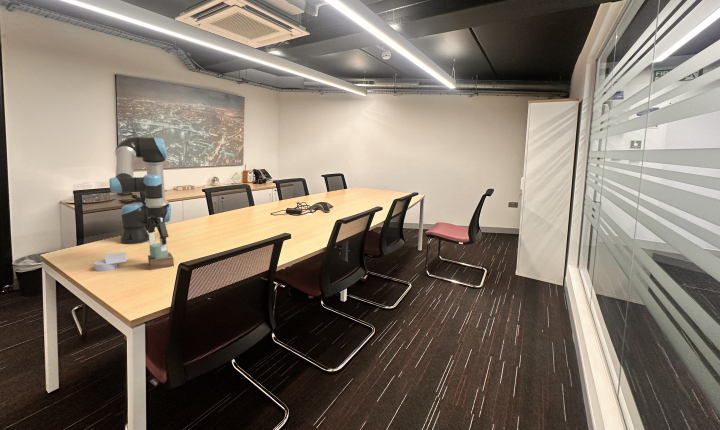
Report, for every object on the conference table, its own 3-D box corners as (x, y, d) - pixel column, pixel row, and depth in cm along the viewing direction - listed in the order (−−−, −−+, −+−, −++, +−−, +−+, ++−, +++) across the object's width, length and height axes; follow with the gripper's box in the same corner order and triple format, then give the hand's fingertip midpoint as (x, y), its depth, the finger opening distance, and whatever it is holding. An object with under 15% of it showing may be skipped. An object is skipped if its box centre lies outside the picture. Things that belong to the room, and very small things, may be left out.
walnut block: (148, 264, 181) (147, 255, 180) (170, 261, 187) (169, 252, 186) (151, 270, 174) (150, 260, 173) (174, 266, 179) (173, 257, 178)
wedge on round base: (126, 262, 183) (95, 267, 175) (125, 250, 181) (93, 254, 174) (127, 267, 176) (95, 272, 168) (126, 254, 174) (93, 259, 167)
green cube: (150, 256, 179) (149, 245, 178) (163, 253, 184) (162, 242, 182) (155, 259, 175) (154, 247, 174) (168, 256, 180) (167, 245, 179)
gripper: (136, 203, 179) (140, 244, 183) (157, 210, 164) (160, 254, 168) (152, 202, 185) (155, 241, 189) (174, 208, 169) (177, 251, 174)
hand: (158, 247), depth 178 cm, fingers open, 13 cm apart
